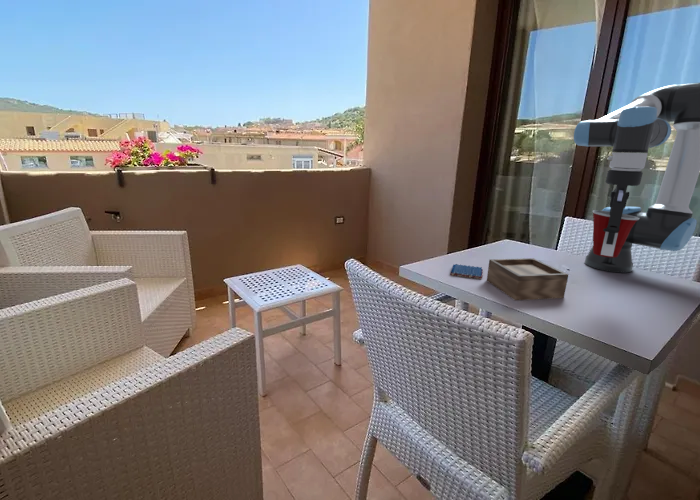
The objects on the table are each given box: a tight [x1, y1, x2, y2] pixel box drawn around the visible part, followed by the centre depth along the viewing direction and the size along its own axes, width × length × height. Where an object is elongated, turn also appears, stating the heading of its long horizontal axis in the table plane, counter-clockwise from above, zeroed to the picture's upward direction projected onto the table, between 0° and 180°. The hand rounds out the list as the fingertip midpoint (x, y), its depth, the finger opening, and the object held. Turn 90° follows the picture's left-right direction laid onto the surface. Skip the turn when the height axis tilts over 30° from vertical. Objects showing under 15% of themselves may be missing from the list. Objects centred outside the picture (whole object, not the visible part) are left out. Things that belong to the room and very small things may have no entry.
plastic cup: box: [592, 209, 640, 257], centre depth 101 cm, size 11×11×12 cm
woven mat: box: [450, 263, 484, 280], centre depth 128 cm, size 10×11×2 cm
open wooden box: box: [486, 257, 569, 301], centre depth 114 cm, size 16×16×8 cm
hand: (606, 251), depth 102 cm, fingers closed on plastic cup, 9 cm apart
